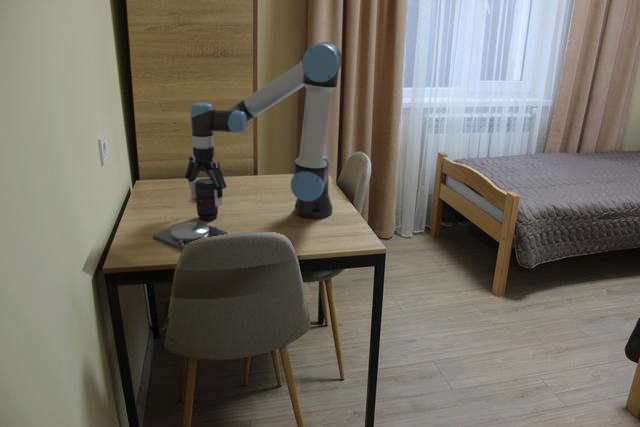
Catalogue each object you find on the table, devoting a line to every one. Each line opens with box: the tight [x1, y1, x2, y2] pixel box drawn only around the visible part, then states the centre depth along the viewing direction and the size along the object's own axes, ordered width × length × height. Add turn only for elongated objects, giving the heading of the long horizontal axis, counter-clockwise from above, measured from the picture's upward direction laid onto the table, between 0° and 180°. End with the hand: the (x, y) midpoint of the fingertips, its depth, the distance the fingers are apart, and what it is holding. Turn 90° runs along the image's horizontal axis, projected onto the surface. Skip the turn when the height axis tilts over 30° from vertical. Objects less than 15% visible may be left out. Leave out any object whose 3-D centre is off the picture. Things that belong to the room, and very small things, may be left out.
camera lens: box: [194, 177, 219, 222], centre depth 194 cm, size 8×8×15 cm
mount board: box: [152, 220, 228, 251], centre depth 179 cm, size 18×18×3 cm
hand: (206, 201), depth 194 cm, fingers open, 13 cm apart
